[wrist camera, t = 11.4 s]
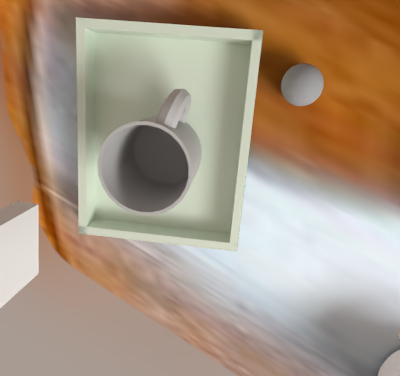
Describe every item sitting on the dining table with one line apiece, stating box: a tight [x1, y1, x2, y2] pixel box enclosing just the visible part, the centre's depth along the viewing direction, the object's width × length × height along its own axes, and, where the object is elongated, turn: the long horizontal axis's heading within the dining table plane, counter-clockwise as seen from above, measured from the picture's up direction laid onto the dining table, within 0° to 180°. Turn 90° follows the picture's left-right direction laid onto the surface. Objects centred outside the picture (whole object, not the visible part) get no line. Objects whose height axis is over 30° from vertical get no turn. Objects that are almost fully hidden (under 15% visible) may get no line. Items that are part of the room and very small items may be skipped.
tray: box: [76, 17, 263, 251], centre depth 33 cm, size 20×16×3 cm
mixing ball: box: [281, 64, 324, 106], centre depth 31 cm, size 4×4×4 cm
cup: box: [98, 89, 202, 216], centre depth 30 cm, size 7×10×9 cm
